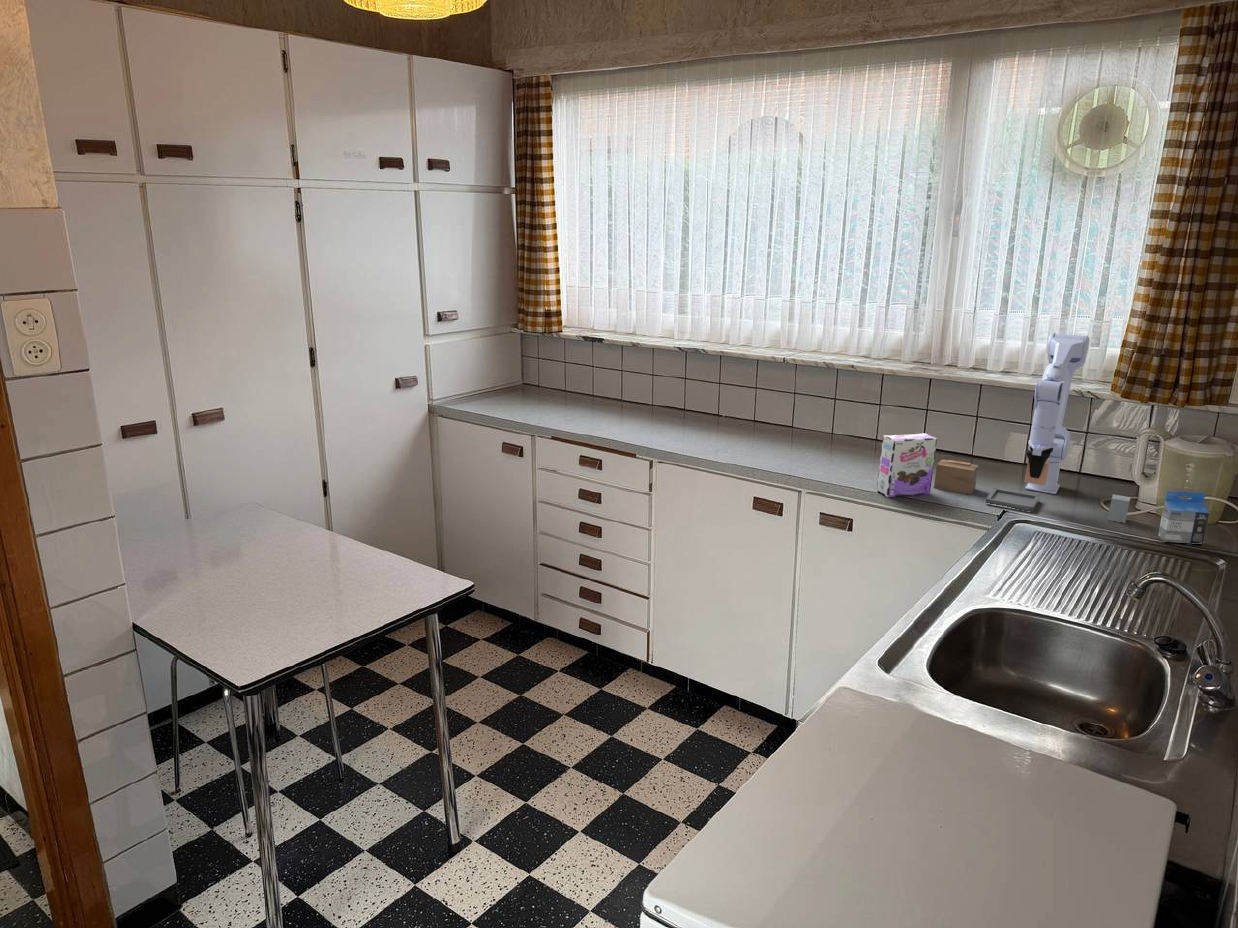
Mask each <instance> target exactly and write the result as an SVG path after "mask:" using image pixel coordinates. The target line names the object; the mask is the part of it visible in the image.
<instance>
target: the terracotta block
mask: <svg viewBox="0 0 1238 928" xmlns="http://www.w3.org/2000/svg"><path fill="white" fill-rule="evenodd" d="M1026 463H1027V464H1026V471H1025V477H1024V481H1023V482H1024V483H1027V484H1028V483H1032V484H1038V485H1044V486H1045V484H1046V482H1047V477H1048V471H1049V466H1050V460H1046V462H1045V464H1044V466H1043V469H1042V472H1041V475H1040V477H1039V478H1032V477H1030V466H1029V460H1027V462H1026Z"/></svg>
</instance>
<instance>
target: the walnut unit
mask: <svg viewBox="0 0 1238 928" xmlns="http://www.w3.org/2000/svg"><path fill="white" fill-rule="evenodd" d="M978 471H979V465H978V464H974V463H973V464H972V463H971V462H964V461H959V460H953V459H948V460H947V459H941V460H940V461H939V462H938V463H937V464H936V468H935V476H934V483H933V488H934V489H938V490H945V491H949V490H950V492H954V493H956V492H957V493H960V492H961V494H967V495H971V494H972V493H973V492H974V490H976V485H977V477H978V473H979V472H978Z"/></svg>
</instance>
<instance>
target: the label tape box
mask: <svg viewBox="0 0 1238 928" xmlns="http://www.w3.org/2000/svg"><path fill="white" fill-rule="evenodd" d="M1206 495H1207V494H1206V492H1198V491H1197V492H1195V491H1179V490H1178V491H1177V490H1176V491H1175V490H1167V492H1166V495H1165V499H1164V502H1163V507H1162V513H1161V519H1160V523H1159V529H1158V534H1157V537H1158V536H1160V537H1161V538H1163V539H1165V540H1173V541H1180V542H1188V543H1202V542H1203V543H1204V542H1205V536H1206V531H1207V529H1208V526H1207V525H1208V522H1209V517H1210V512H1209V510H1208V508H1207V507H1206V504H1205V503H1204V501H1205V497H1206ZM1185 496H1186V497H1187V498H1181V497H1185ZM1188 497H1189V498H1188Z"/></svg>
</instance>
